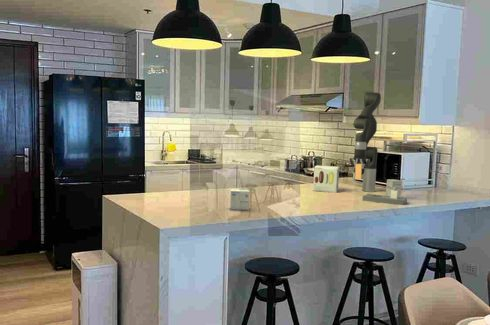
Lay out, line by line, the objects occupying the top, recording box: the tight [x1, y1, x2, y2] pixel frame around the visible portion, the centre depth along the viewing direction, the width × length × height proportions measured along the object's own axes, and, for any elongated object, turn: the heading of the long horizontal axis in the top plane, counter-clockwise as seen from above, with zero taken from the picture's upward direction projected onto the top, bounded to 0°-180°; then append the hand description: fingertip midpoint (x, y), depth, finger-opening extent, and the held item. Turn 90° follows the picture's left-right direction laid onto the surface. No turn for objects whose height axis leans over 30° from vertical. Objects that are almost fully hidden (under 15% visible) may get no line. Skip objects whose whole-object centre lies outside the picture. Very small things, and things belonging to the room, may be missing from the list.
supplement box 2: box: [385, 178, 402, 197], centre depth 332 cm, size 7×7×13 cm
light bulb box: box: [229, 189, 250, 211], centre depth 274 cm, size 11×7×11 cm, turn 92°
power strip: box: [362, 187, 408, 206], centre depth 316 cm, size 12×26×10 cm, turn 60°
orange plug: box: [354, 163, 363, 180], centre depth 324 cm, size 4×4×12 cm
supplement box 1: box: [312, 164, 340, 194], centre depth 356 cm, size 17×13×18 cm
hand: (359, 173), depth 324 cm, fingers closed on orange plug, 4 cm apart
